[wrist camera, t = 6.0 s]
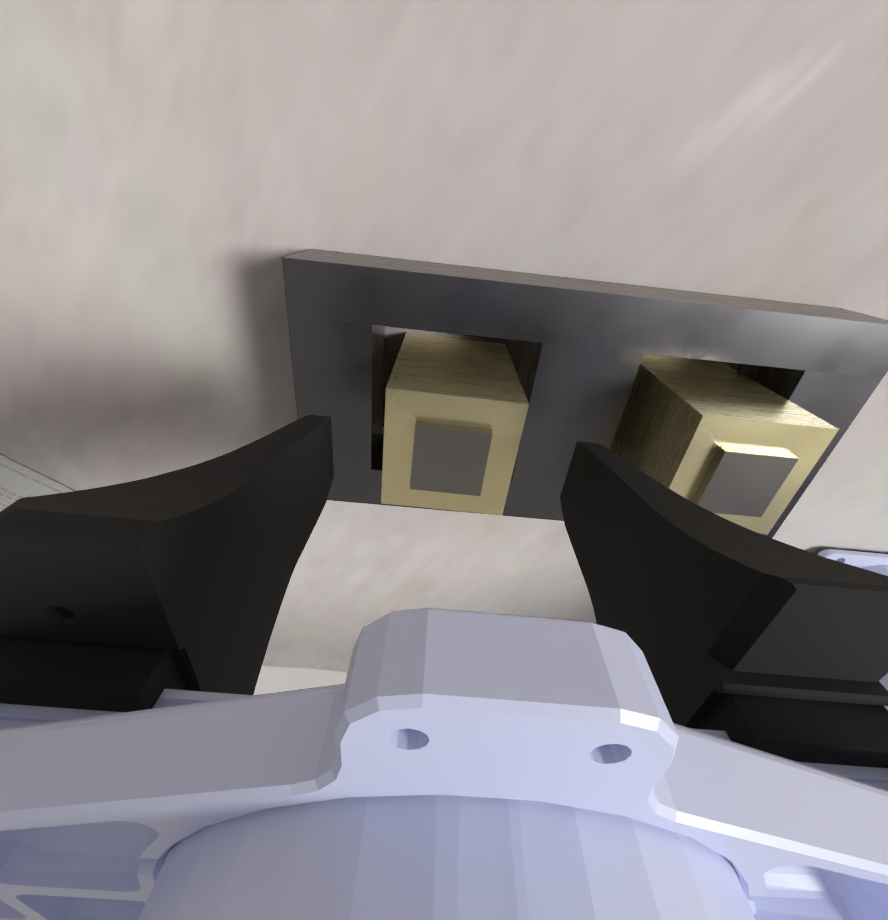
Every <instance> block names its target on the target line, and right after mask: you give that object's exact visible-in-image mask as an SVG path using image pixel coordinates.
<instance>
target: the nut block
mask: <svg viewBox="0 0 888 920" xmlns="http://www.w3.org/2000/svg"><path fill="white" fill-rule="evenodd" d="M528 407H529V403H528V400H527V398H526V395H525V393H524V390H523V388H522V385H521V383H520V380H519V378H518V375H517V373H516V370H515V368H514V365H513V363H512V360H511V358H510V355H509V353H508V350H507V348H506V345H505V344H500V343H491V342H483V341H474V340H466V339H458V338H449V337H441V336H432V335H424V334H416V333H407V332H406V334H405V337H404V340H403V343H402V345H401V348H400V351H399V354H398V356H397V359H396V362H395V364H394V367H393V370H392V373H391V375H390V378H389V381H388V384H387V386H386V396H385V420H384V444H383V467H382V491H381V503H383V504H393V505H403V506H413V507H423V508H433V509H443V510H453V511H463V512H473V513H483V514H493V515H502V514H503V510H504V506H505V502H506V498H507V494H508V490H509V485H510V481H511V477H512V473H513V469H514V465H515V460H516V456H517V452H518V448H519V444H520V440H521V436H522V431H523V427H524V423H525V419H526V415H527V411H528Z"/></svg>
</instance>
